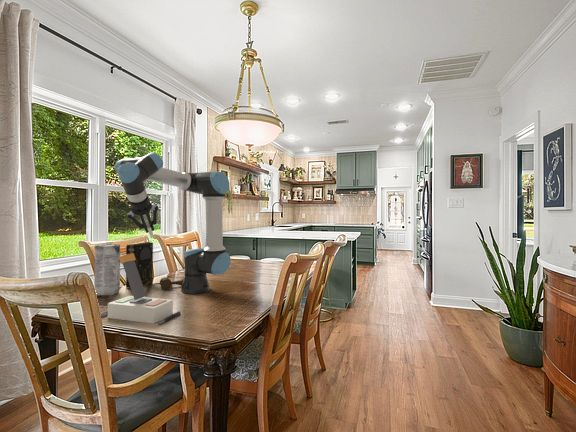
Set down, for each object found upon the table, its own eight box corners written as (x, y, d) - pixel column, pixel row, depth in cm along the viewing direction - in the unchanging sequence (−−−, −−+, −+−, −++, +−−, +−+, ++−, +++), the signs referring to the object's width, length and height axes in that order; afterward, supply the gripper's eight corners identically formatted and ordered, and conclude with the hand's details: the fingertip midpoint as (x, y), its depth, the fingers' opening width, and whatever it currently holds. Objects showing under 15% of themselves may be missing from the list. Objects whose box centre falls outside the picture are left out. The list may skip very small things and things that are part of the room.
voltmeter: (137, 289, 174) (137, 244, 173) (123, 288, 175) (123, 244, 175) (154, 283, 189) (154, 242, 189) (141, 282, 191) (142, 241, 190)
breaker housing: (172, 314, 133) (172, 298, 133) (153, 323, 122) (153, 306, 122) (129, 309, 139) (129, 294, 139) (107, 317, 128) (107, 301, 128)
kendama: (191, 288, 180) (153, 291, 171) (188, 285, 189) (152, 287, 180) (192, 278, 180) (154, 280, 171) (188, 275, 189) (152, 277, 180)
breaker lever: (147, 295, 133) (133, 253, 135) (137, 299, 127) (123, 255, 129) (143, 297, 134) (129, 255, 135) (133, 300, 128) (118, 257, 130)
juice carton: (113, 296, 160) (114, 243, 160) (92, 296, 159) (92, 243, 159) (121, 291, 169) (121, 241, 169) (101, 291, 168) (101, 241, 168)
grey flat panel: (181, 314, 133) (181, 311, 133) (160, 325, 120) (160, 321, 120) (124, 307, 141) (124, 304, 141) (99, 317, 128) (99, 313, 128)
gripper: (123, 207, 126) (139, 246, 142) (156, 198, 131) (168, 236, 147) (119, 196, 130) (135, 235, 147) (151, 187, 135) (163, 225, 152)
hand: (151, 235), depth 147 cm, fingers closed
